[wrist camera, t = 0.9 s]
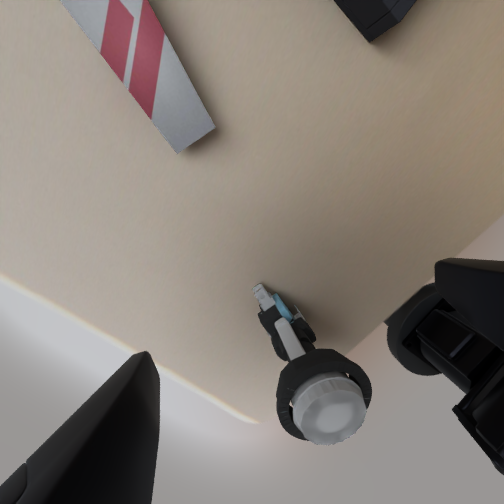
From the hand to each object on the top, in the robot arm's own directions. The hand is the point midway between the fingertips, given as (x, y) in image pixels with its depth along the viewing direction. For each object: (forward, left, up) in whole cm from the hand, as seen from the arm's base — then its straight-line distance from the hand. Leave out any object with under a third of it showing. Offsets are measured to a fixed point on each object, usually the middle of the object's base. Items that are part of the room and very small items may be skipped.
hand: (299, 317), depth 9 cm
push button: (-7, +4, -14) cm, 16 cm away
